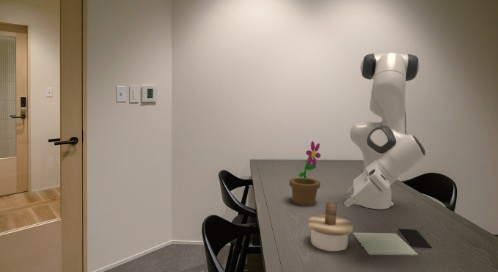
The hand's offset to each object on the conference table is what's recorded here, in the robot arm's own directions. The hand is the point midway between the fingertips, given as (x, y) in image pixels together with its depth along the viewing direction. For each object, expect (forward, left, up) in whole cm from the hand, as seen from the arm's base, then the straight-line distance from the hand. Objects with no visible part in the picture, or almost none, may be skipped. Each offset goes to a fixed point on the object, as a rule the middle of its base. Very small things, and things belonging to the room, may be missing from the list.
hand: (345, 200), depth 113 cm
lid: (-1, -4, -10) cm, 11 cm away
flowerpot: (-44, -5, -16) cm, 47 cm away
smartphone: (-5, +28, -16) cm, 32 cm away
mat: (-1, +15, -16) cm, 21 cm away
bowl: (-1, -4, -16) cm, 16 cm away
